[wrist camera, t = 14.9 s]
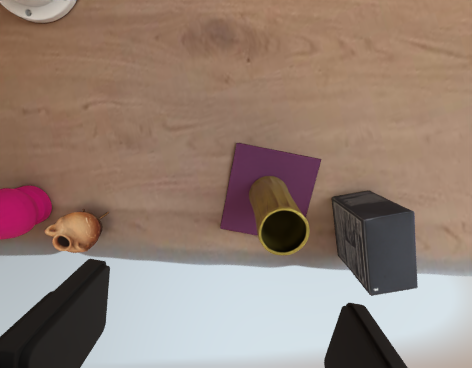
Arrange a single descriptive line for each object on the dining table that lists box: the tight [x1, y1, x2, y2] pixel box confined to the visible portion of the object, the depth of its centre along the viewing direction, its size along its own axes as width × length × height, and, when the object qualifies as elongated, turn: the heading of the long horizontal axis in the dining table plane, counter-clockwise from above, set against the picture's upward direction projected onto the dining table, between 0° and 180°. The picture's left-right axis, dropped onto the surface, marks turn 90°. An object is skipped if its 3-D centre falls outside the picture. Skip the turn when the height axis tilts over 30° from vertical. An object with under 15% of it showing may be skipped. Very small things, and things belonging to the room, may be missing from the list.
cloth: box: [220, 143, 321, 235], centre depth 40 cm, size 14×13×1 cm
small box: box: [332, 191, 417, 296], centre depth 36 cm, size 11×6×10 cm, turn 11°
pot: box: [45, 209, 109, 253], centre depth 38 cm, size 6×8×6 cm
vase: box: [249, 176, 309, 255], centre depth 33 cm, size 6×6×14 cm
